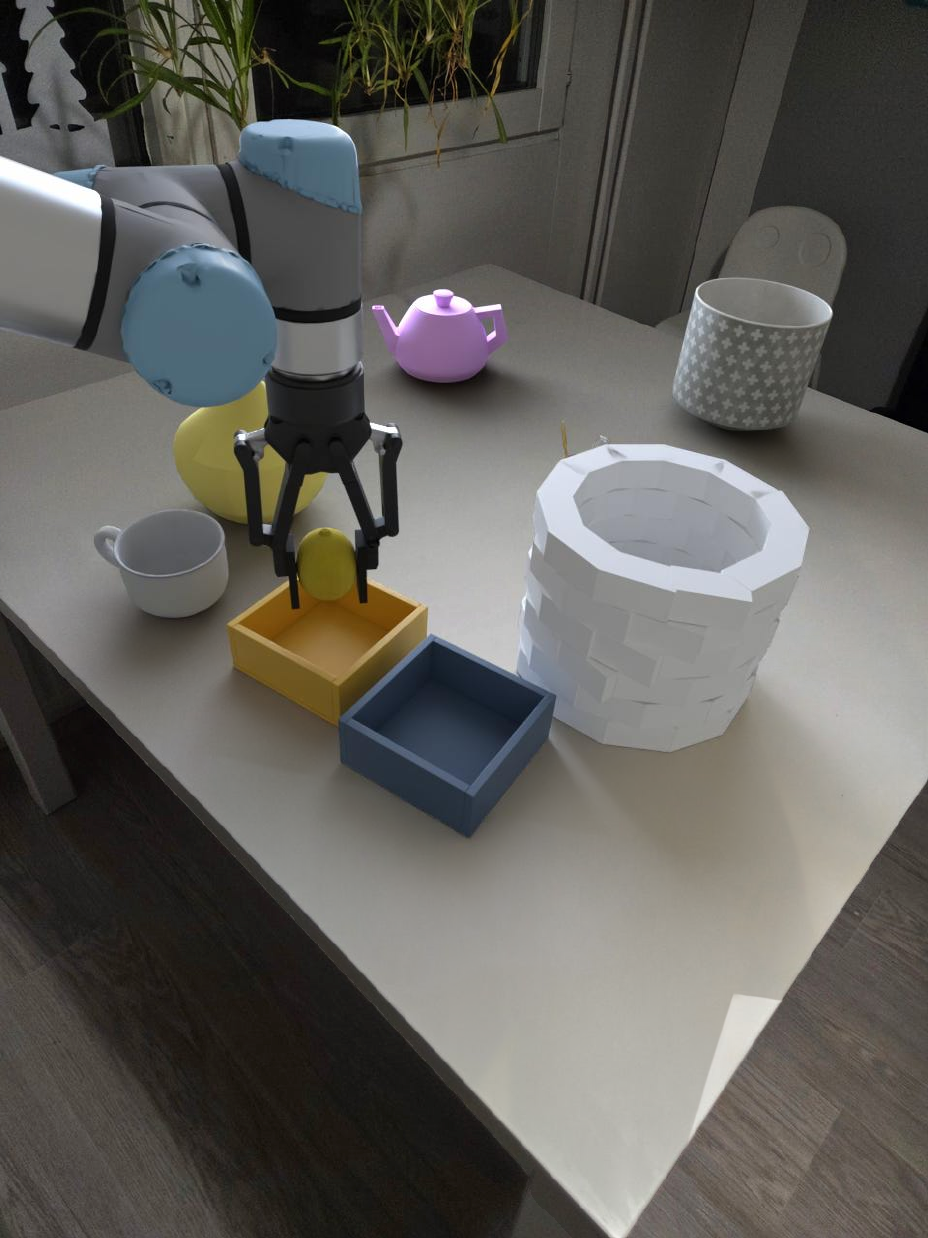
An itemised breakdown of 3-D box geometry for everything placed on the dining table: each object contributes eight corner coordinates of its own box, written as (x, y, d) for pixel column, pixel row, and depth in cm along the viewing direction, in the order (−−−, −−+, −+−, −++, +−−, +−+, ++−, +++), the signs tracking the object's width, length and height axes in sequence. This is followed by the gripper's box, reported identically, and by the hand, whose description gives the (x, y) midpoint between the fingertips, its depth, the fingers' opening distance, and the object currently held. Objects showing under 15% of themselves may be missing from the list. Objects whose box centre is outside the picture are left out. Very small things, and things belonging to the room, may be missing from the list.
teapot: (498, 347, 143) (505, 276, 135) (512, 387, 132) (520, 311, 124) (371, 345, 141) (370, 273, 133) (374, 386, 129) (373, 309, 121)
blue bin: (340, 762, 73) (337, 719, 69) (428, 674, 81) (430, 632, 78) (469, 839, 67) (473, 797, 64) (548, 737, 76) (556, 695, 73)
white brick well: (520, 578, 94) (541, 429, 82) (730, 603, 93) (783, 455, 81) (504, 745, 75) (528, 583, 63) (768, 779, 74) (844, 621, 62)
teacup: (254, 587, 90) (245, 526, 85) (189, 646, 82) (175, 584, 77) (152, 550, 94) (138, 490, 89) (81, 603, 86) (61, 541, 81)
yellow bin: (233, 666, 81) (225, 624, 77) (324, 596, 89) (321, 555, 86) (340, 729, 75) (338, 686, 72) (426, 648, 84) (428, 606, 81)
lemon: (335, 625, 75) (331, 555, 70) (286, 604, 77) (279, 533, 71) (369, 593, 78) (368, 524, 73) (322, 573, 80) (318, 504, 75)
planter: (659, 432, 123) (688, 311, 111) (675, 381, 137) (702, 269, 125) (789, 459, 119) (834, 336, 107) (792, 404, 133) (832, 290, 121)
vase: (314, 456, 112) (304, 316, 99) (353, 530, 99) (348, 381, 87) (174, 477, 106) (145, 330, 93) (197, 558, 93) (168, 402, 81)
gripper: (426, 337, 67) (419, 565, 82) (188, 343, 63) (227, 580, 78) (443, 377, 61) (432, 614, 76) (183, 386, 58) (226, 632, 73)
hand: (328, 596), depth 77 cm, fingers closed on lemon, 5 cm apart
